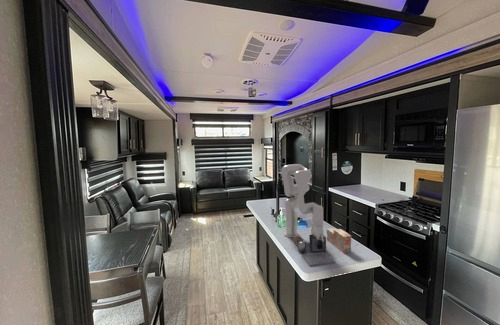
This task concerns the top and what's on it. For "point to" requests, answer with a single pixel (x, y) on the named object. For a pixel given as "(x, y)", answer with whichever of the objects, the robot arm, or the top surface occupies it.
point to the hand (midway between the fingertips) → (317, 246)
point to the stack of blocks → (339, 239)
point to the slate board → (318, 258)
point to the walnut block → (297, 240)
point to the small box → (316, 244)
